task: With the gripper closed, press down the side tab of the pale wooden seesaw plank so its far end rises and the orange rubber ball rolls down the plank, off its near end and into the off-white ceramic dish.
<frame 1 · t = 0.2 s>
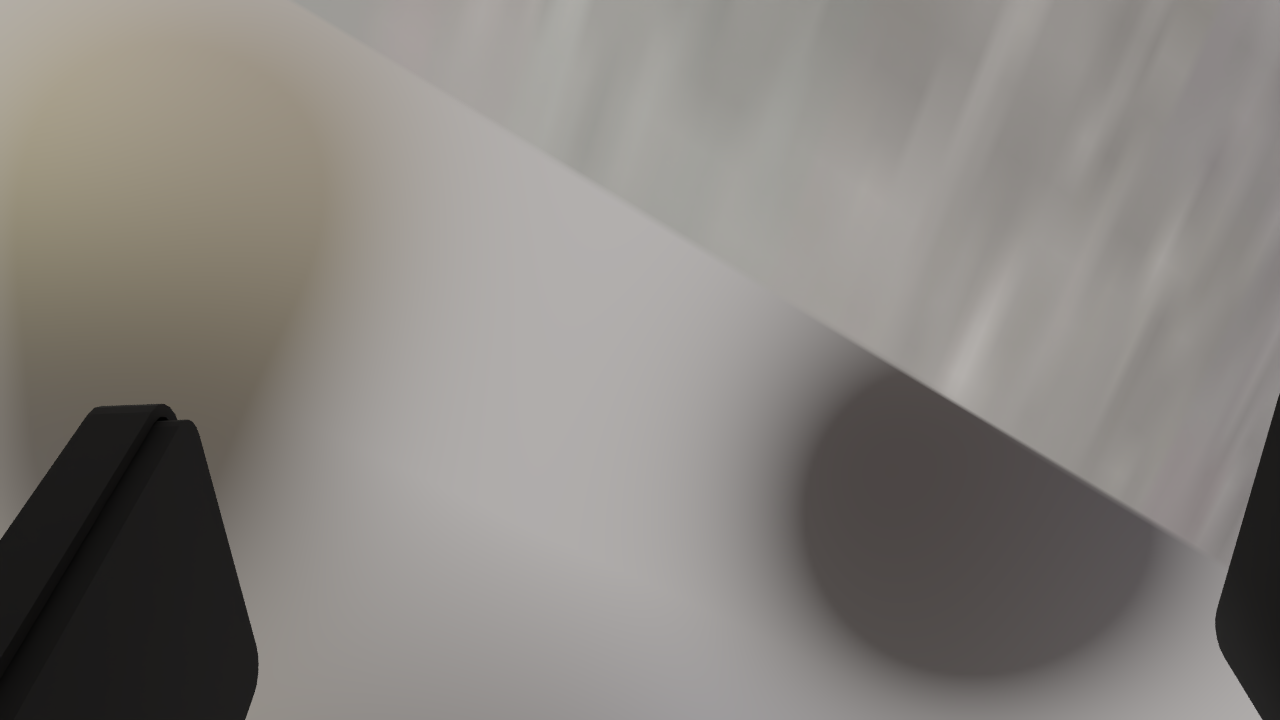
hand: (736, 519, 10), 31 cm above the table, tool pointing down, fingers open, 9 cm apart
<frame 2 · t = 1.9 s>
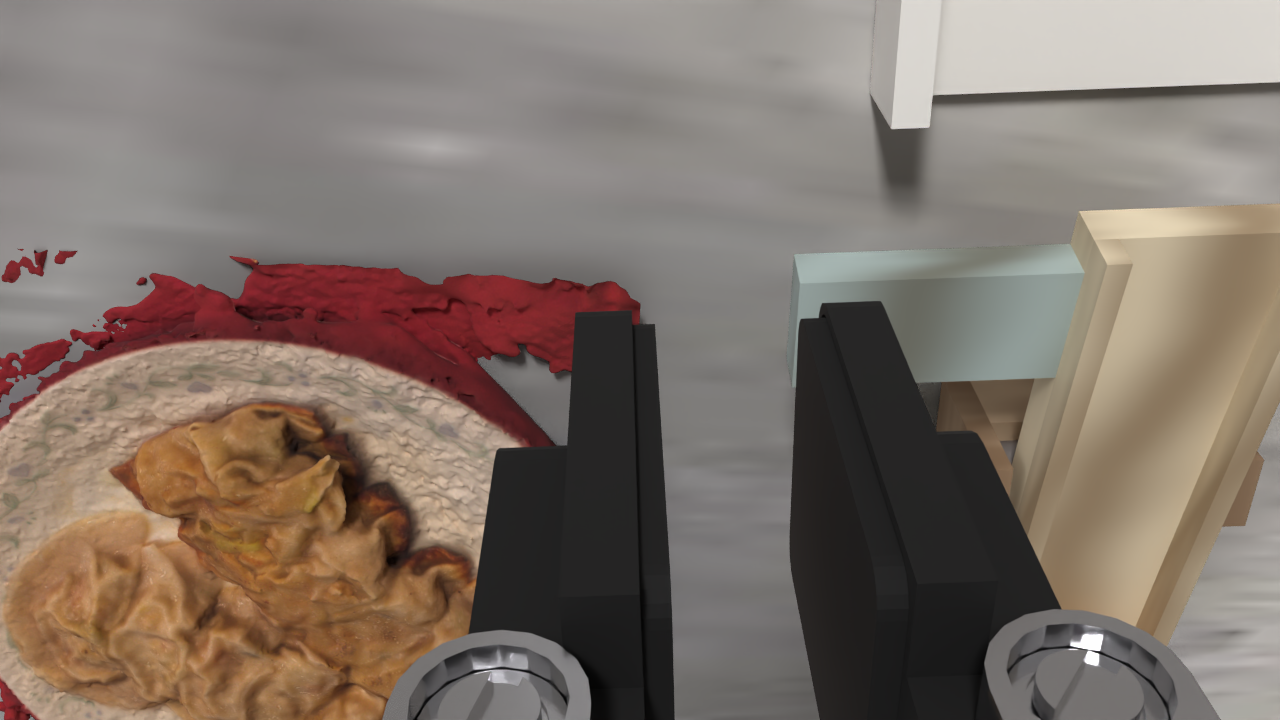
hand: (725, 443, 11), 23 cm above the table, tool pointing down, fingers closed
lever: (1001, 519, 34), point 6 cm above the table, hinge at -11.0°, touching ball
plate with food: (287, 576, 43), on the table
fulcrum: (1059, 402, 39), on the table
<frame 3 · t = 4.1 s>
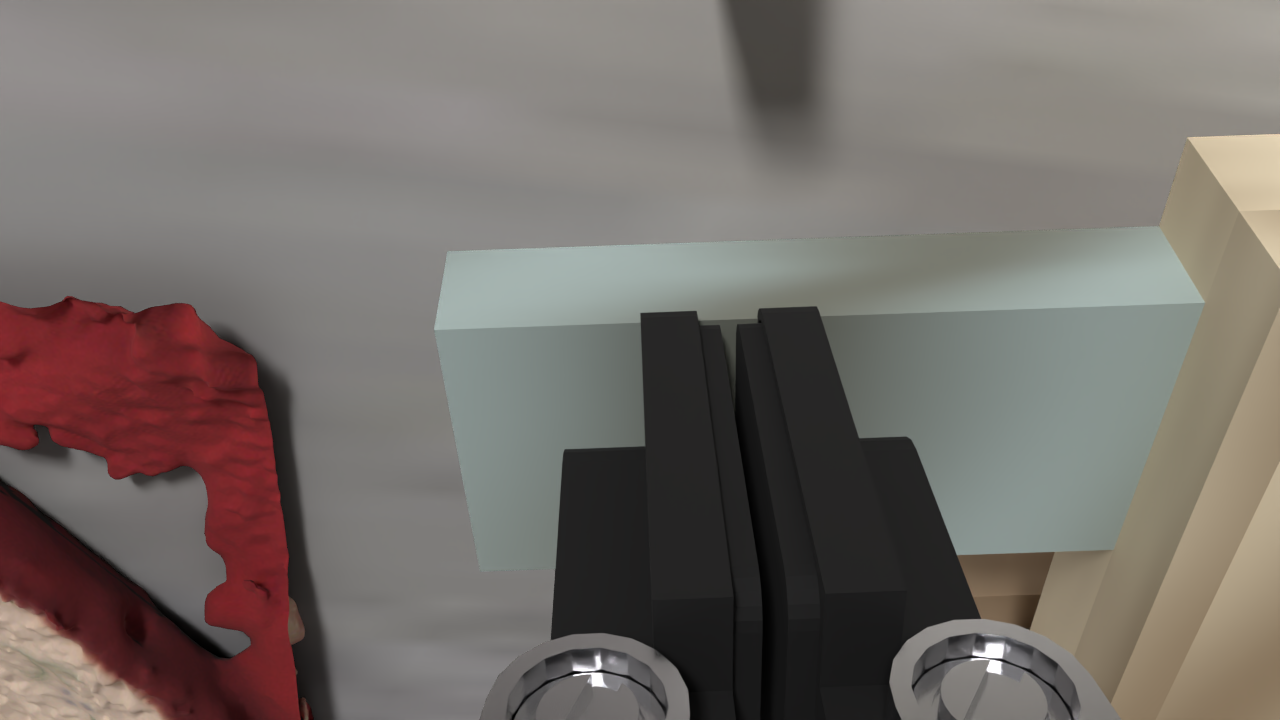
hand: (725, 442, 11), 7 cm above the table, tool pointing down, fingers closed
fulcrum: (1102, 532, 21), on the table
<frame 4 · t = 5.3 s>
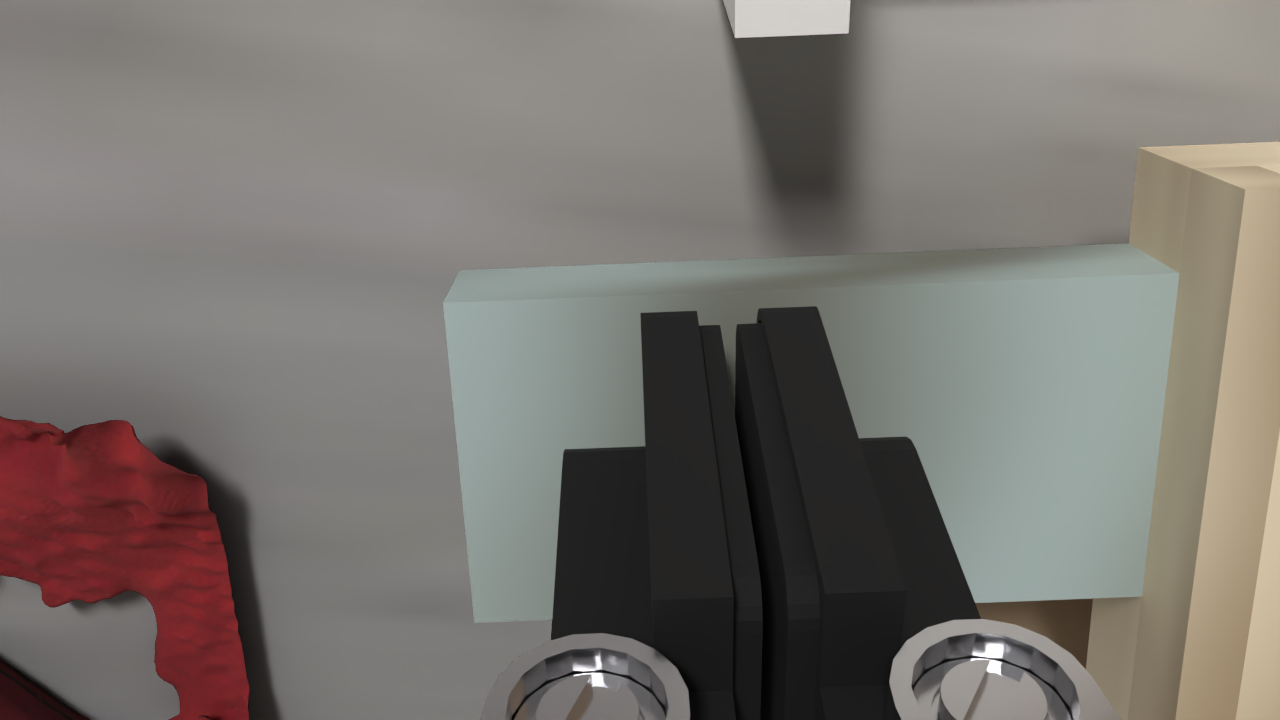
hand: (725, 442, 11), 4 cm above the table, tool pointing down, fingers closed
fulcrum: (1162, 652, 18), on the table
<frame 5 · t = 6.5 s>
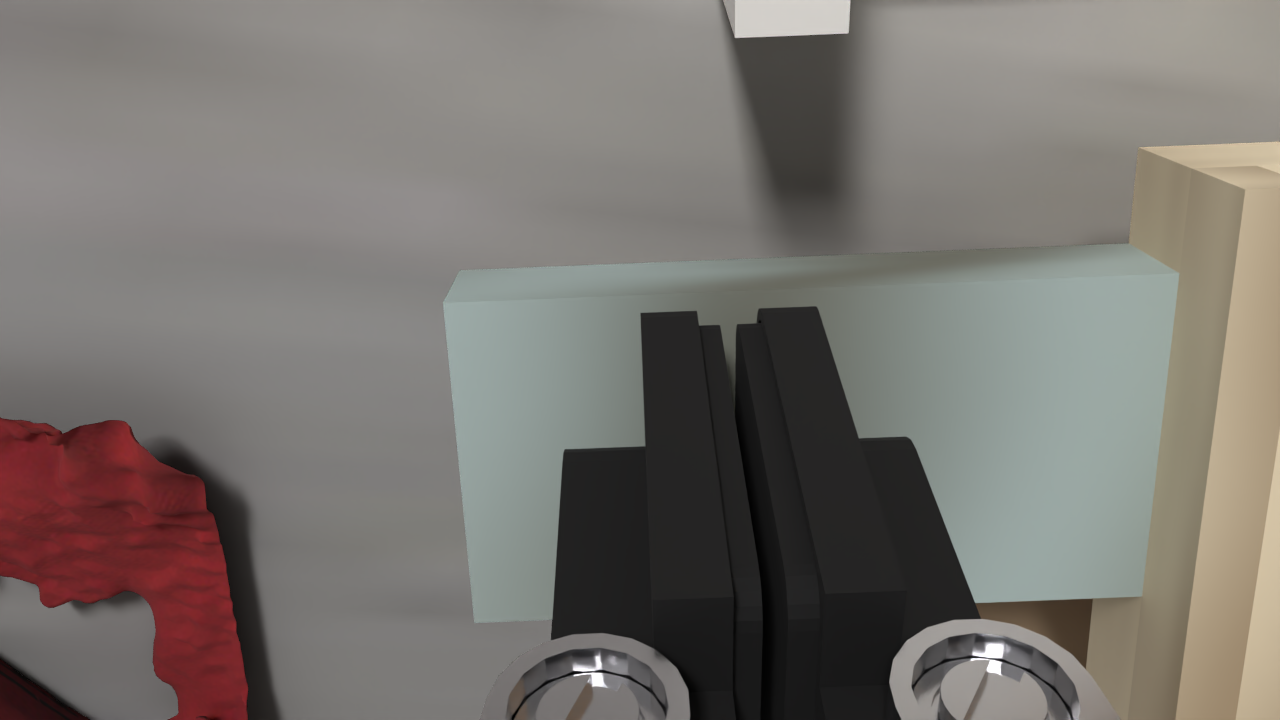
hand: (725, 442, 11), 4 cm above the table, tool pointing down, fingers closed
fulcrum: (1162, 652, 18), on the table
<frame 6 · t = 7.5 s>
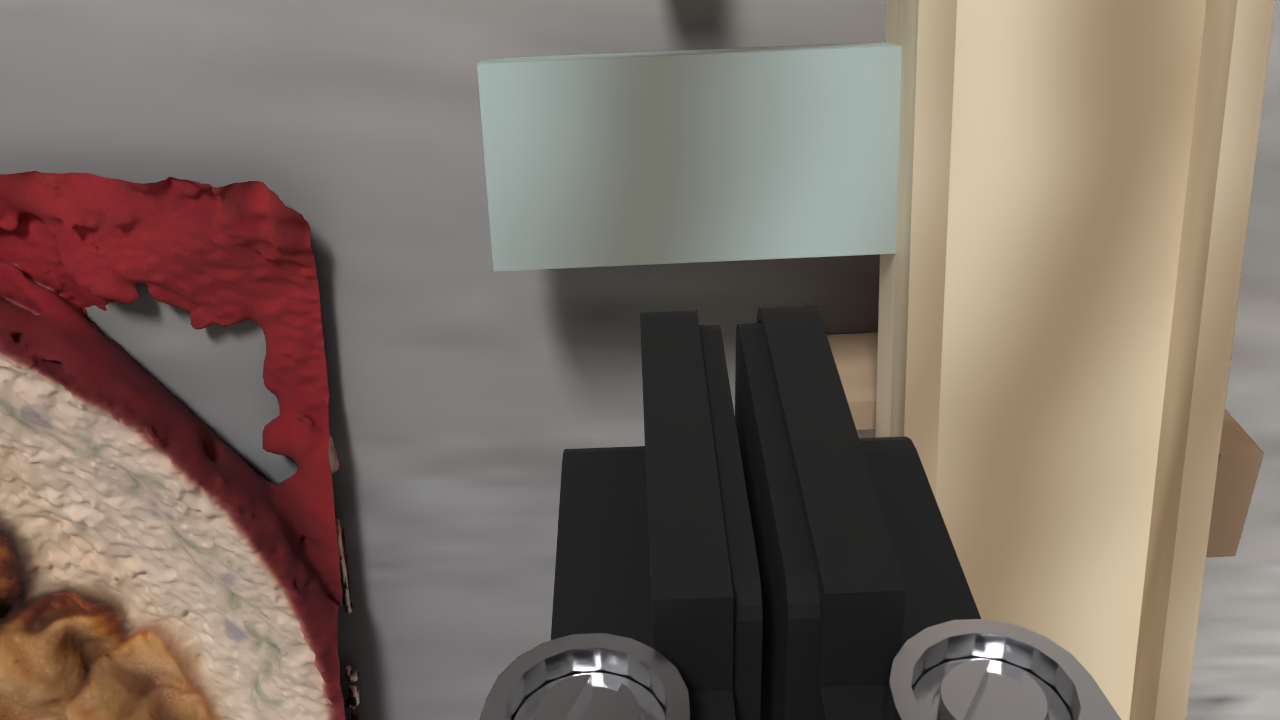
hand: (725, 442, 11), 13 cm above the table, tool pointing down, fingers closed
lever: (857, 530, 22), point 6 cm above the table, hinge at 11.5°
fulcrum: (962, 375, 27), on the table
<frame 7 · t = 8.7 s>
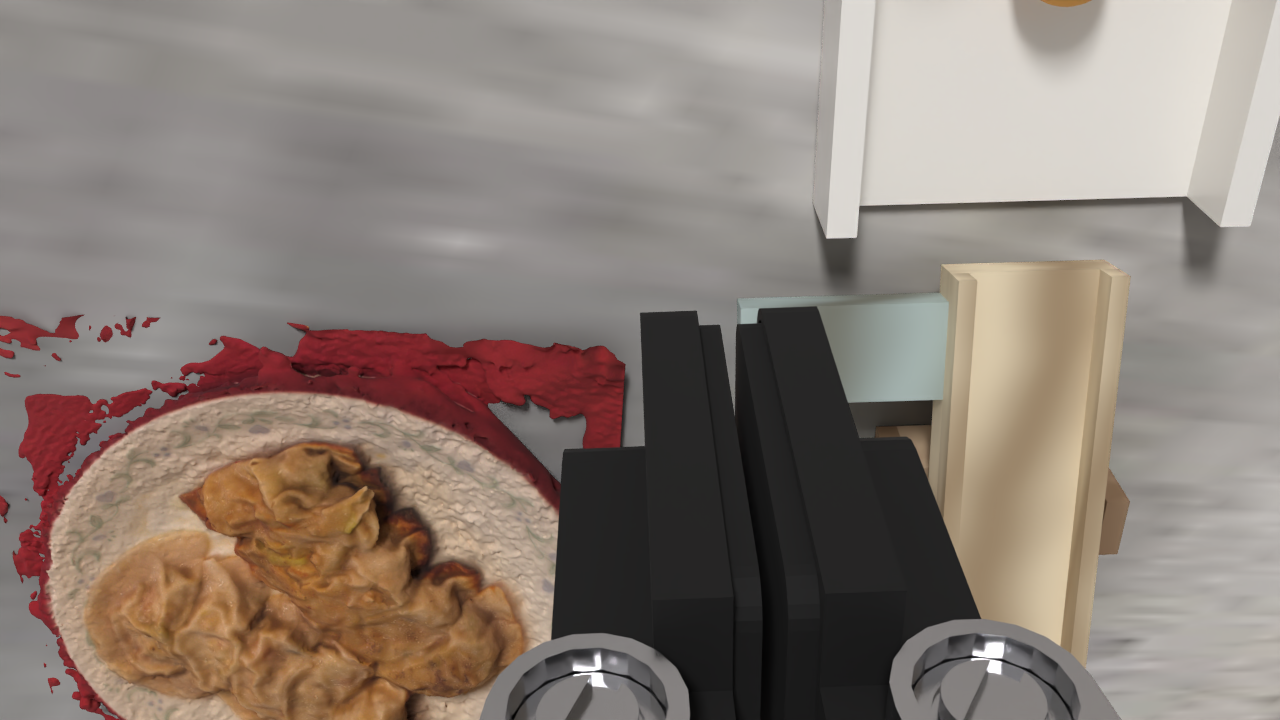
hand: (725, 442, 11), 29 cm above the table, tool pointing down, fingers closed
lever: (919, 537, 42), point 6 cm above the table, hinge at 11.5°
plate with food: (323, 585, 51), on the table
dish: (1036, 32, 38), on the table
fulcrum: (973, 448, 47), on the table
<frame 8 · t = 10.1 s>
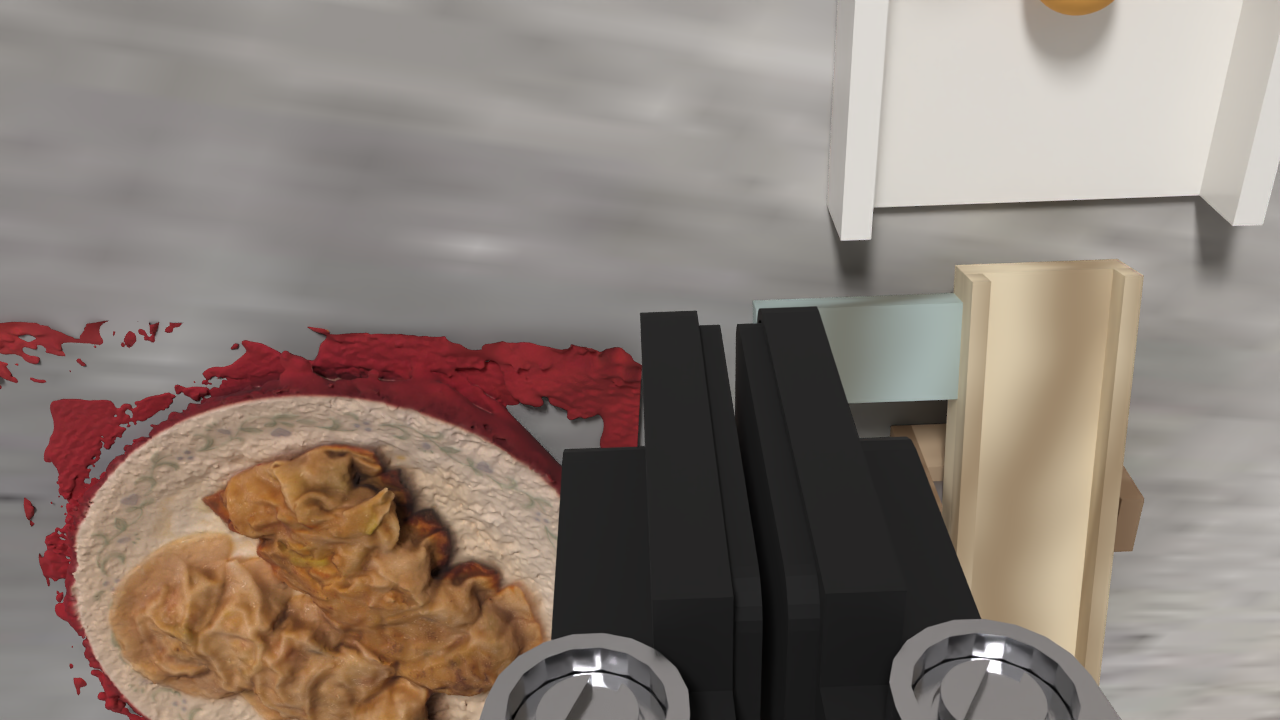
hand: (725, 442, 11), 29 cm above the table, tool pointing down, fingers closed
lever: (934, 536, 42), point 6 cm above the table, hinge at 11.5°
plate with food: (344, 586, 51), on the table
dish: (1048, 34, 39), on the table
fulcrum: (988, 447, 47), on the table
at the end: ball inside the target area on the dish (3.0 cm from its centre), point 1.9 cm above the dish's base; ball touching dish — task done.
